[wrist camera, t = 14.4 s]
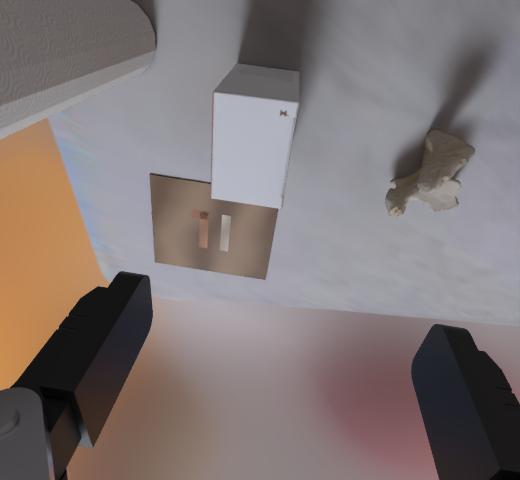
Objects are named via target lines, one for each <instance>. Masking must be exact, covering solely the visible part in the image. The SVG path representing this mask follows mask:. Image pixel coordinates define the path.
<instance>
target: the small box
mask: <svg viewBox="0 0 520 480" xmlns="http://www.w3.org/2000/svg"><path fill="white" fill-rule="evenodd" d="M299 92H300V77H299V72H298V71H290V70H283V69H276V68H268V67H261V66H254V65H246V64H239V63H238V64H236V65H235V67H234V68H233V69H232V70H231V71H230V72H229V74H228V75H227V76H226V77H225V78H224V79H223V81H222V82H221V83H220V84H219V85H218V87H217V88H216V89H215V90H214V91H213V113H212V158H211V198H212V199H219V200H225V201H232V202H239V203H245V204H252V205H259V206H265V207H272V208H278V209H281V208H282V207H283V199H284V191H285V184H286V178H287V171H288V165H289V159H290V153H291V147H292V140H293V135H294V129H295V123H296V118H297V113H298V109H299V104H300V102H299Z"/></svg>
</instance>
